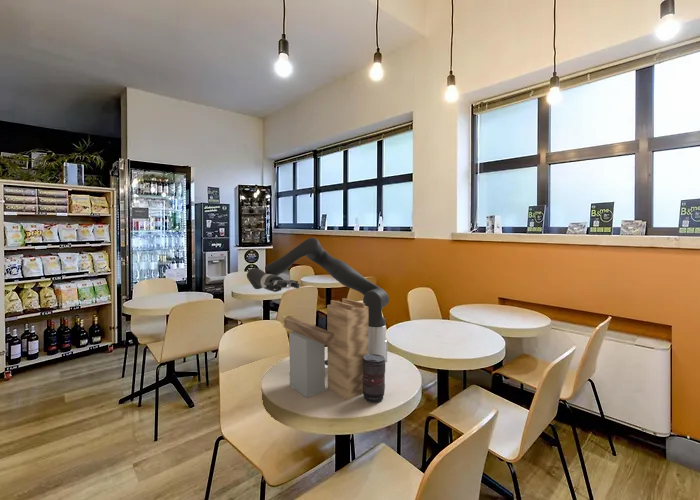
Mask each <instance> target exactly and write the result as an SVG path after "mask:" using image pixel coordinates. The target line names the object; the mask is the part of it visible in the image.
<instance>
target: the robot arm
mask: <svg viewBox="0 0 700 500" xmlns="http://www.w3.org/2000/svg"><path fill="white" fill-rule="evenodd" d="M305 256H306V258H307V259H308V260H310V261H312V262H313V263H315V264H317V265H318V266H320V267H321V268H323V270H325V271H326V272H327V273H328V274H329V275H330V276H331V277H332V278H333V279H334V280H336V282H338V283H340V284H341V285H342V286H345V287H346V288H349V289H351V290H354V291H356V292H358V293H360V294H362V295H363V299H362V303H365V306H368V307H369V354H378V355H382V356H384V357H385V363H386V362H388V340H387V337H386V336H387V335H386V334H387V330H386V329H387V326H386V325H387V324H386V323H387V322H386V318H385V317H384V316H383V311H382V310H383V308H385V307H386V306H387V305H388V304H389V301H390V297H389V294H388V293H387V291H385V290H384V289H383V288H382V287H380V286H379V285H376V284H375V283H373V282H371V281H370V280H368V279H367V278H366V277H365V276H364V275H362V274H361V273H359V272H358V271H357V270H356V269H354V268H353V267H352V266H351V265H349V264H348V263H346V261H344V260H341V259H338V258H336V257H333V256H332V255H330V254H329V253H328V252H327V250H325V249H324V248H323V246H322V244H321V242H320V241H319V240H318V239H317V238H315V237H309V238H307V239H305V240H303V241H302V242H300V244H298V245H297V246H296V247H294V248H293V249H291V250H289V252H287V253H286V254H284V255H283V256H281V257H280V258H278V259H276V260H274V261H272V262H270V263H268V264H267V265H265V267H264V270H265V271H263V270H262V269H260V268H256V267H255V268H250V269H249V270H248V271H247V273H246V278H247V280H248V282H249V283H250V284H251V286H252V287H253V288H254V289H255V290H260V289H264V290H267V291H270V292H273V293H278V292H280V291H282V290H283V289H291V288H293V289H299V288H300V283H299V281H298V280H294V279H288V280H287V279H284V278H283V277H282V276H280V275H281V274H283V273H284V272H286V271H287V270H288V269H289V268H291V266H292V265H293V264H294V263H296V261H298V260H300V259H301V258H303V257H305Z"/></svg>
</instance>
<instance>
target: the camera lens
mask: <svg viewBox="0 0 700 500" xmlns="http://www.w3.org/2000/svg"><path fill="white" fill-rule="evenodd" d="M385 376H386V362H385V357H384V356H382V355H378V354H367V355H365V356H364V357H363V377H362V381H363V394H362V395H363V396H364V400H365V401H366V402H368V403H372V404H373V403H374V404H376V403H380V402H382V401H383V400H384V395H385V389H386V380H385Z"/></svg>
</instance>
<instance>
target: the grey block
mask: <svg viewBox="0 0 700 500" xmlns="http://www.w3.org/2000/svg"><path fill="white" fill-rule="evenodd" d="M288 336H289V337H288V338H289V339H288V342H289V345H288V346H289V352H288V353H289V387H291V388H292V389H294V390H295V391H296V392H298V393H299V394H301V395H303V397H305V398H309V397H312V396H315V395H317V394H320V393H323V392H325V391H326V368H325V360H326V357H325V354H326V352H325V350H326V347H325V346H326V345H324V344H322V343H319V342H317V341H315V340H313V339H310V338H308V337H306V336H303V335H301V334H299V333H297V332H294V331H291V332H289V334H288Z"/></svg>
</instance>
